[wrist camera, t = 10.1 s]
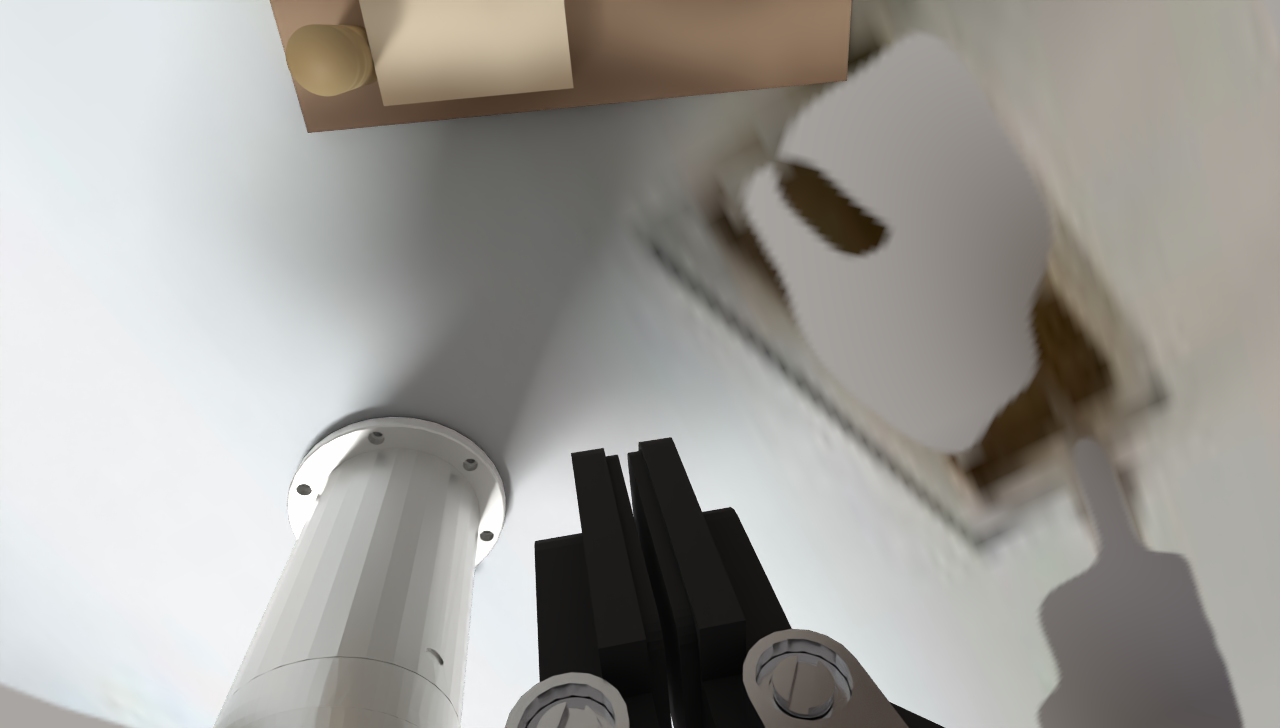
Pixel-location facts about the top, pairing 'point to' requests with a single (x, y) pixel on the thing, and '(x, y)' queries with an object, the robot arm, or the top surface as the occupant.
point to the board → (582, 56)
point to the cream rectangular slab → (466, 48)
